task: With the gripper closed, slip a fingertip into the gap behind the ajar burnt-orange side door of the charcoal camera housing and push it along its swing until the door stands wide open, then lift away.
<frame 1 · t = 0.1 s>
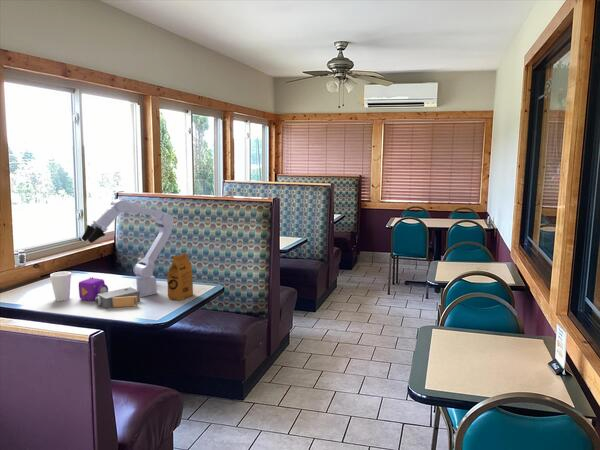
hand: (86, 240, 239), 32 cm above the table, tool tilted 50°, fingers open, 7 cm apart
camera housing: (119, 302, 250), on the table
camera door: (124, 301, 243), point 3 cm above the table, hinge at 30.0°
foam cup: (62, 299, 256), on the table
squeeze bottle: (143, 283, 284), on the table
toy camera: (95, 298, 257), on the table
coffee package: (180, 297, 259), on the table
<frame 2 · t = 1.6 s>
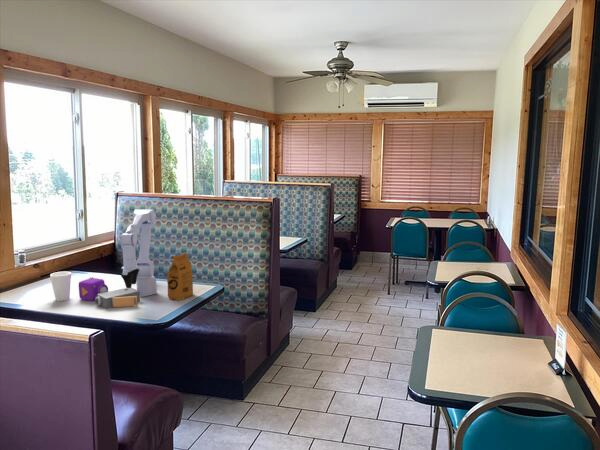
hand: (131, 285, 245), 9 cm above the table, tool pointing down, fingers open, 6 cm apart
nothing on the table moved.
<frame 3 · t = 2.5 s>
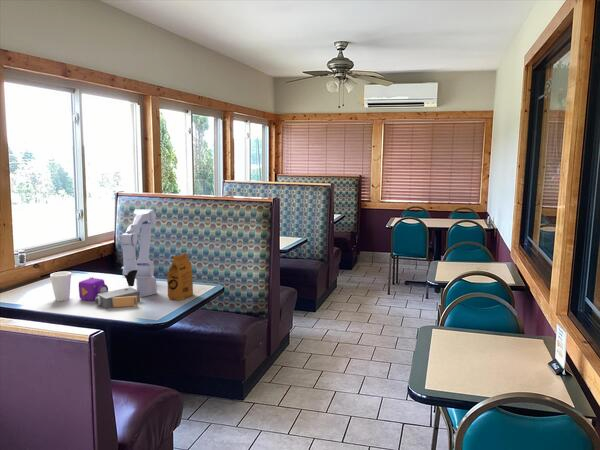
hand: (131, 286, 245), 9 cm above the table, tool pointing down, fingers closed
nothing on the table moved.
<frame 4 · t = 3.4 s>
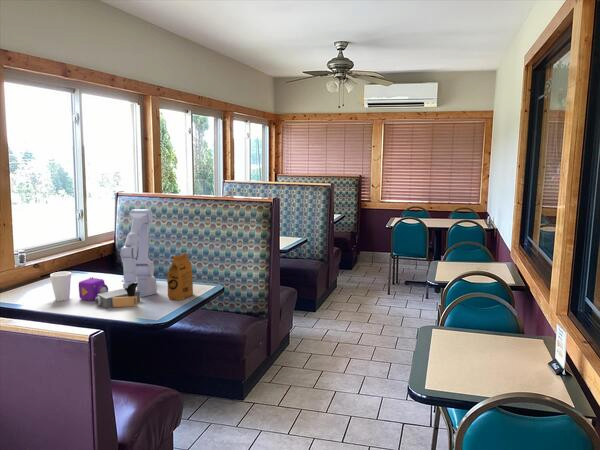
hand: (131, 298, 244), 3 cm above the table, tool pointing down, fingers closed, pressing on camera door
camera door: (124, 301, 242), point 3 cm above the table, hinge at 31.2°, touching gripper
everything else where it was.
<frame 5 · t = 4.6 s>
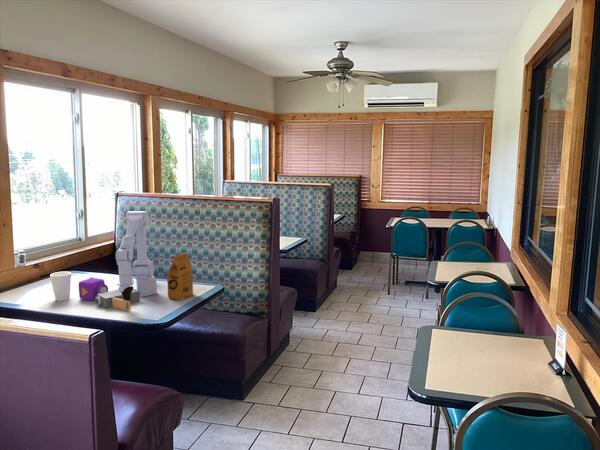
hand: (127, 302, 239), 3 cm above the table, tool pointing down, fingers closed, pressing on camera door
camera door: (120, 304, 239), point 3 cm above the table, hinge at 72.8°, touching gripper
everything else where it was.
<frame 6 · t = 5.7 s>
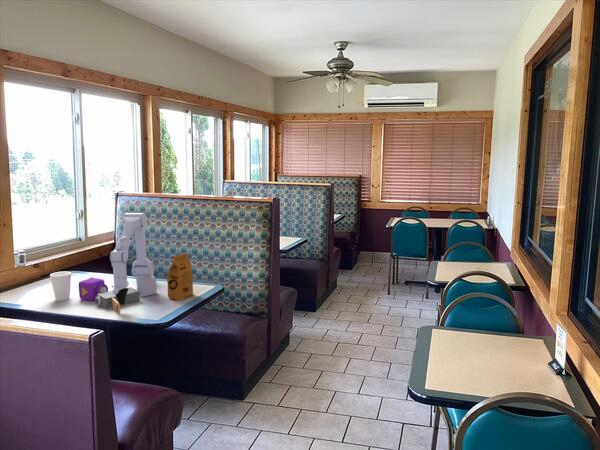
hand: (122, 304, 236), 3 cm above the table, tool pointing down, fingers closed
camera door: (115, 305, 237), point 3 cm above the table, hinge at 100.3°
everything else where it was.
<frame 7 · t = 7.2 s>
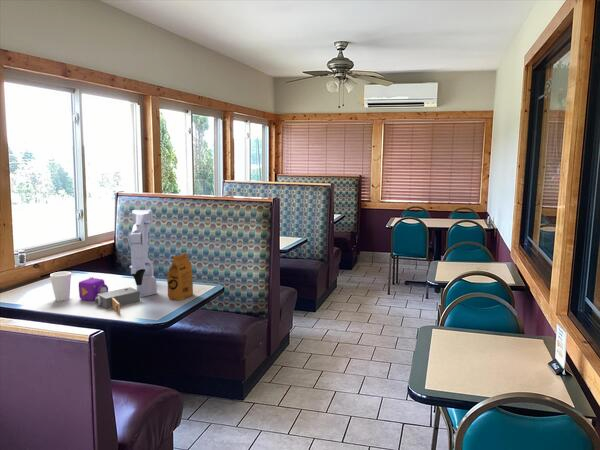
hand: (139, 284, 246), 9 cm above the table, tool pointing down, fingers closed
nothing on the table moved.
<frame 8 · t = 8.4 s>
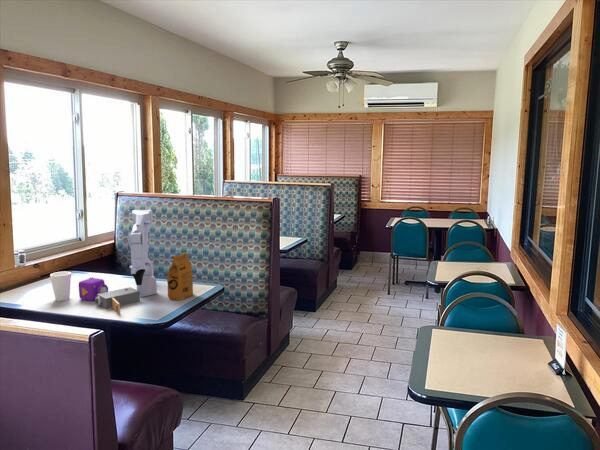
hand: (139, 284, 246), 9 cm above the table, tool pointing down, fingers closed
nothing on the table moved.
at the end: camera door at +100° (first picture: +30°); toy camera moved 0.3 cm from its start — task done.
